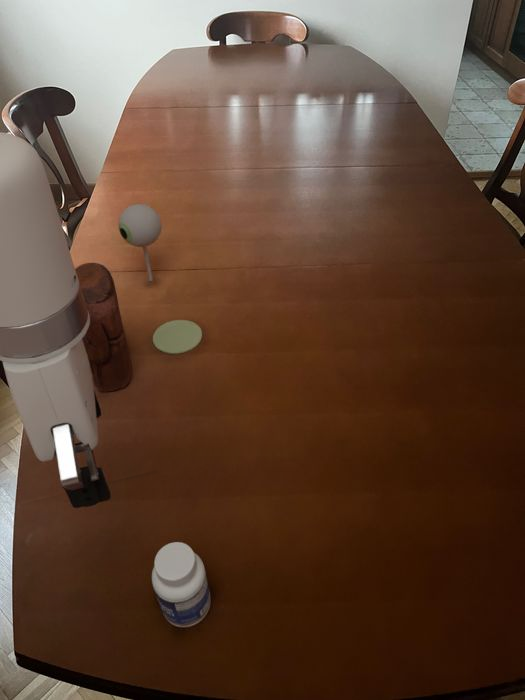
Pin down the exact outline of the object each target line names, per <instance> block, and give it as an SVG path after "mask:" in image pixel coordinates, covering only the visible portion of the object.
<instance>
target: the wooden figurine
mask: <svg viewBox="0 0 525 700" xmlns="http://www.w3.org/2000/svg"><path fill="white" fill-rule="evenodd" d="M75 271H76V274H77V277H78V280H79V283H80V286H81V289H82V293H83V296H84V299H85V303H86V306H87V309H88V312H89V315H90V325H89V328H88V330H87V332H86V334H85V335H84V337H83V338H82V340H83V344H84V347H85V350H86V353H87V357H88V361H89V365H90V370H91V375H92V377H93V382H94V384H95V386H96V387H97V388H98V390H99V391H100V392H104V393H109V392H113V391H117V390H120V389H124V388H125V387H126V386H128V384H129V383H130V382H131V379H132V376H133V364H132V359H131V355H130V349H129V346H128V342H127V338H126V336H127V335H126V331H125V328H124V324H123V319H122V315H121V311H120V306H119V300H118V294H117V289H116V286H115V285H116V284H115V280H114V278H113V276H112V273H111V272H110V270H108V268H107V267H106V266H105V265H103V264H101V263H98V262H86V263H83V264H80V265H78V266H77V267H76V268H75Z"/></svg>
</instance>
